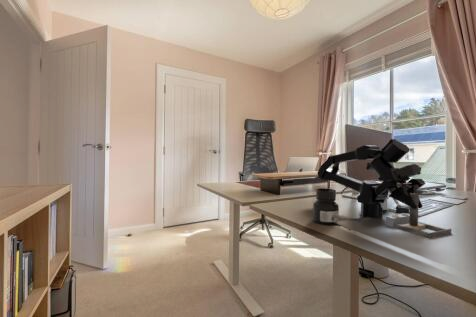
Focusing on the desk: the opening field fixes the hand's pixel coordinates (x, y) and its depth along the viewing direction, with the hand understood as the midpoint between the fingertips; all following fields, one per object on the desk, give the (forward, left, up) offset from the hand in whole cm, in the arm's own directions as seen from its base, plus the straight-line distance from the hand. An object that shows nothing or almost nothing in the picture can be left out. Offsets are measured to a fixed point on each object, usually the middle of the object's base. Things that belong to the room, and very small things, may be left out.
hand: (418, 207), depth 73 cm
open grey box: (0, 0, -8) cm, 8 cm away
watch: (+6, +25, -8) cm, 27 cm away
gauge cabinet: (-3, +5, -8) cm, 10 cm away
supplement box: (-3, +31, -8) cm, 32 cm away
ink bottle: (-28, +5, -8) cm, 29 cm away
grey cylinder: (-1, +1, -7) cm, 7 cm away
